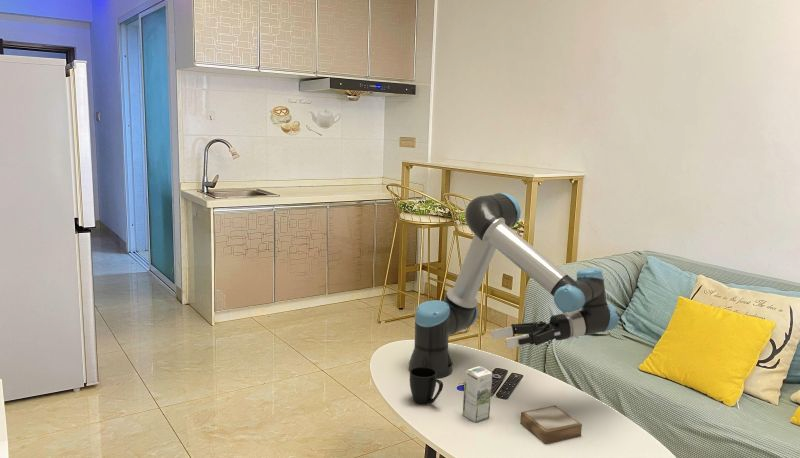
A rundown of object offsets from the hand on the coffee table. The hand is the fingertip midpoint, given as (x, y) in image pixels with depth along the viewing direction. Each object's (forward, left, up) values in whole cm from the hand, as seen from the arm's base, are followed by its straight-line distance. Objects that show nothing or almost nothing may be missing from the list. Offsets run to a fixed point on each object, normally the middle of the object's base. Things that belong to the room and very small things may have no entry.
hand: (498, 339), depth 178 cm
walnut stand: (+16, +8, -23) cm, 29 cm away
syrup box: (+2, -8, -23) cm, 24 cm away
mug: (-11, -18, -23) cm, 31 cm away
